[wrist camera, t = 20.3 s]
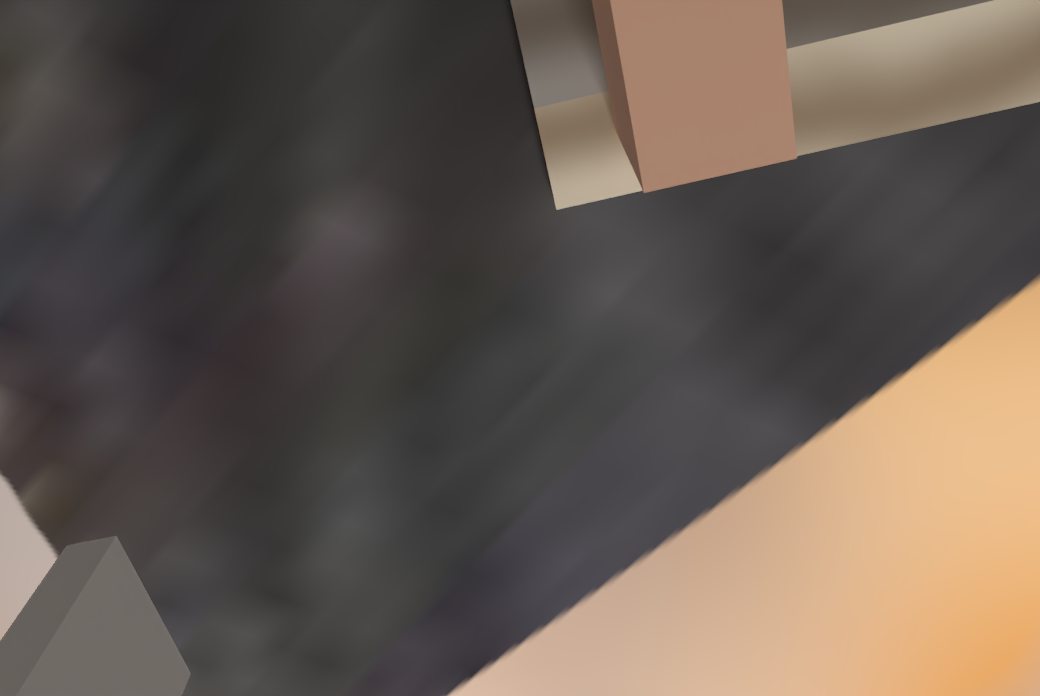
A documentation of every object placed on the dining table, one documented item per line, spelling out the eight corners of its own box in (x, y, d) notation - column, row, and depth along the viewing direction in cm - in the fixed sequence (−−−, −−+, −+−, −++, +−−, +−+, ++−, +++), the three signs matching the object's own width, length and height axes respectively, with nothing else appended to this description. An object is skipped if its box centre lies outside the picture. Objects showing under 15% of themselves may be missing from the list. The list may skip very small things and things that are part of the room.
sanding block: (578, -70, 30) (599, -62, 23) (710, -104, 30) (772, -106, 23) (615, 131, 34) (643, 192, 26) (735, 103, 33) (796, 158, 26)
